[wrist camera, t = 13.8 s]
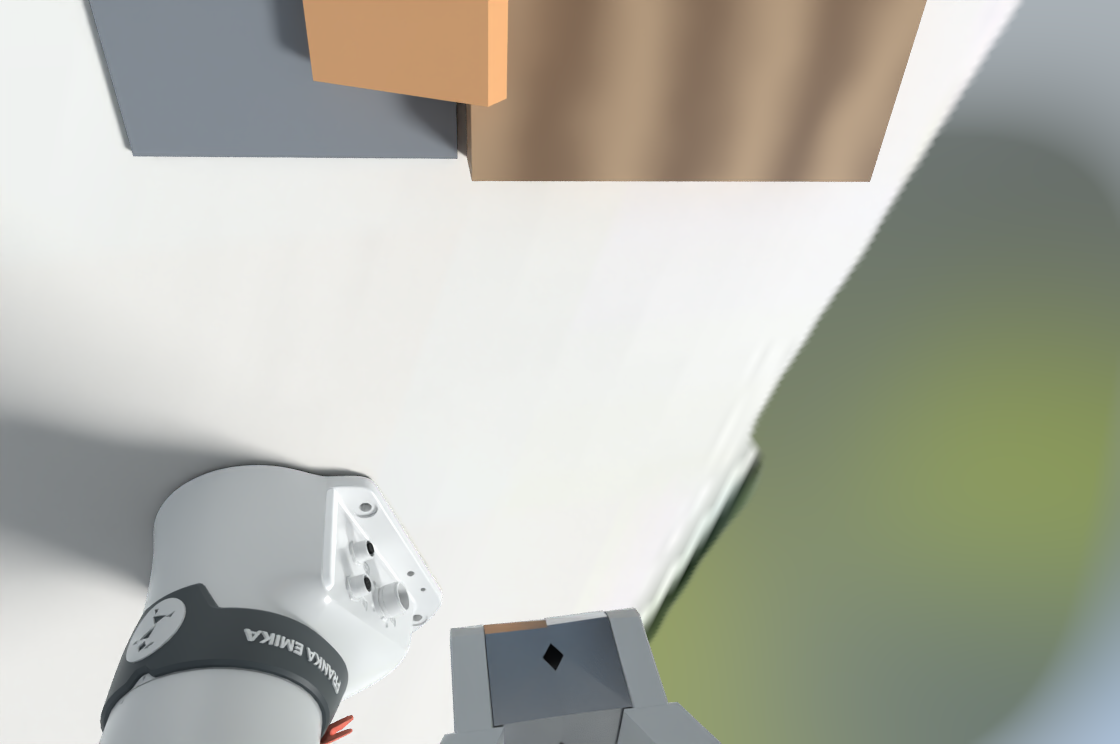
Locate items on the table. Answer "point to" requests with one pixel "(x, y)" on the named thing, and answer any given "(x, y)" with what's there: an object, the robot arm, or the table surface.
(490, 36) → the block
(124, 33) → the mat
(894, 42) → the deck
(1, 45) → the table surface
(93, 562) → the table surface
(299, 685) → the robot arm
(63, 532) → the table surface
